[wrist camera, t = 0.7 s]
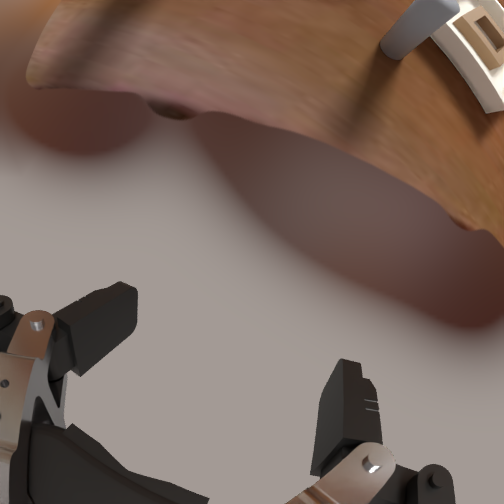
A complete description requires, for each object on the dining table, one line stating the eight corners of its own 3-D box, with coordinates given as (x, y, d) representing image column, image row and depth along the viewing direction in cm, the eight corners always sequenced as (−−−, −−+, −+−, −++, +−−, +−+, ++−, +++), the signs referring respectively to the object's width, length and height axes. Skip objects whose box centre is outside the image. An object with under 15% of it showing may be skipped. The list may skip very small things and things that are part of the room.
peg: (374, 43, 24) (420, -12, 10) (390, 33, 23) (437, -19, 10) (394, 64, 25) (450, 17, 11) (409, 53, 24) (465, 9, 10)
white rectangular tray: (407, 14, 22) (421, -2, 17) (464, -12, 17) (476, -22, 12) (486, 113, 24) (507, 109, 19) (524, 66, 19) (540, 62, 14)
